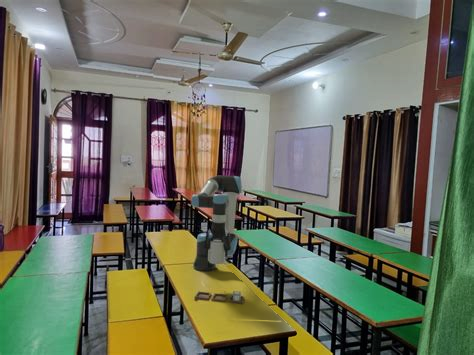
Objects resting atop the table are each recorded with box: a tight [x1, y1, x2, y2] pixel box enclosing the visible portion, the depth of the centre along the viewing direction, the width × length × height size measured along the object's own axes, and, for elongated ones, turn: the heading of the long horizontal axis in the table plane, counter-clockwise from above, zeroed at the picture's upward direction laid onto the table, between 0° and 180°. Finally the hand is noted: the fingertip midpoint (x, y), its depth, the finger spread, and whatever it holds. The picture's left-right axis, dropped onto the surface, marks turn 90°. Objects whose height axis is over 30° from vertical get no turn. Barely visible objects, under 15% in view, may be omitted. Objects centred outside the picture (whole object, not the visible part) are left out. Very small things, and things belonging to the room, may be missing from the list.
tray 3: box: [228, 294, 245, 305], centre depth 177 cm, size 7×7×2 cm
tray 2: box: [210, 292, 229, 303], centre depth 178 cm, size 7×7×2 cm
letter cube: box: [232, 291, 242, 301], centre depth 176 cm, size 4×4×4 cm
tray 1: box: [193, 290, 212, 301], centre depth 179 cm, size 7×7×2 cm
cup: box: [209, 240, 224, 265], centre depth 193 cm, size 8×8×12 cm
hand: (216, 261), depth 193 cm, fingers closed on cup, 8 cm apart
